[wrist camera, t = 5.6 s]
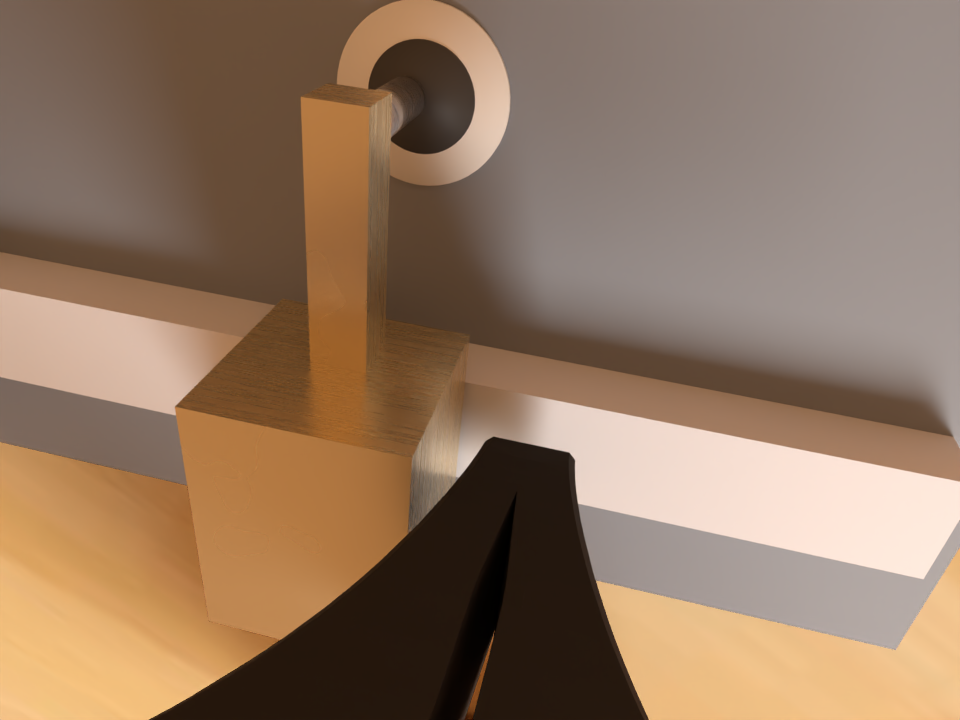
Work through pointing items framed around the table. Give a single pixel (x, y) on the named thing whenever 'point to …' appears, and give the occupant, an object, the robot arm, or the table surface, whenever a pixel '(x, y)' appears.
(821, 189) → the plate
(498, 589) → the robot arm
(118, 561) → the table surface
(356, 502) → the sliding trammel head
